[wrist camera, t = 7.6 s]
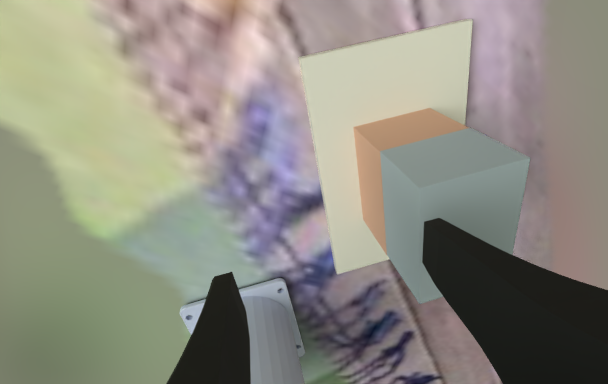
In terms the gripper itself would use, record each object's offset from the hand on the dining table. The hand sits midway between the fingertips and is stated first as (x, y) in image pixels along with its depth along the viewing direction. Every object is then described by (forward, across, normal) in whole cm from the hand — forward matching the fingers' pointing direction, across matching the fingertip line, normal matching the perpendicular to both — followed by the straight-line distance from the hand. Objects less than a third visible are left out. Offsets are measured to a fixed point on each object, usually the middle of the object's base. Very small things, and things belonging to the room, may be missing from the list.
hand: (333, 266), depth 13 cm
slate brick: (+6, -7, +2) cm, 9 cm away
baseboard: (+10, -7, +2) cm, 13 cm away
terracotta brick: (+10, -7, +2) cm, 12 cm away
